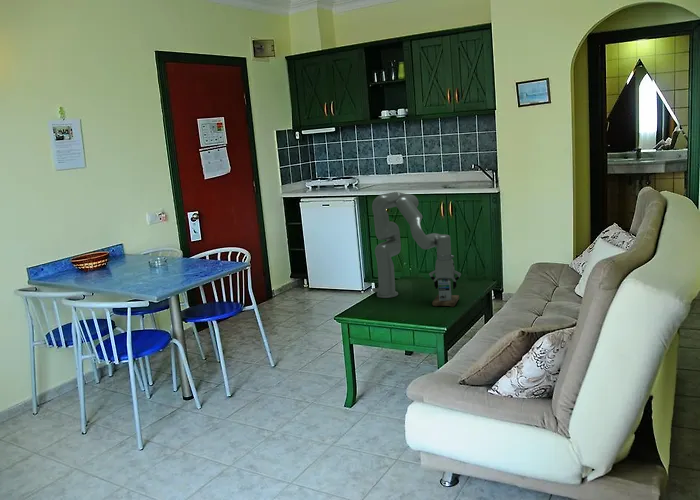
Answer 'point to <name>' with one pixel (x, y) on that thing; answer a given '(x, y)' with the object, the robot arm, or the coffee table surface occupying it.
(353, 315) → the coffee table surface
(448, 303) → the walnut stand
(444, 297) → the light bulb box
